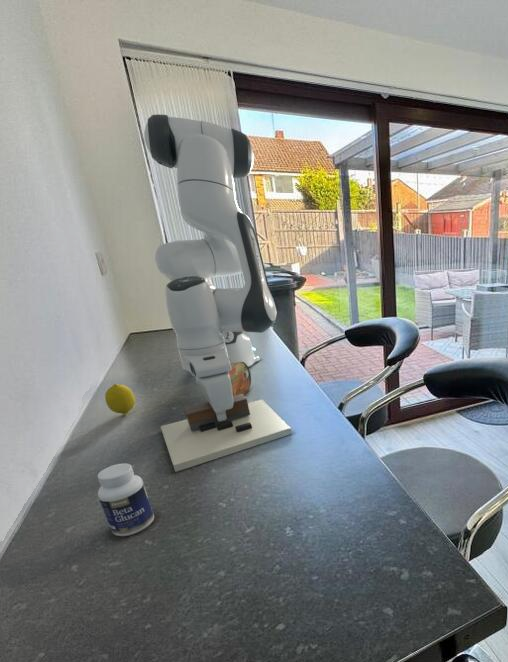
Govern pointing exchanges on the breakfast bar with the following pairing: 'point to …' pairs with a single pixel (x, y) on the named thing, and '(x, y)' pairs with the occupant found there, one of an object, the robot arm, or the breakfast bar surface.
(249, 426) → the stroke
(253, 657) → the breakfast bar surface
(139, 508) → the pill bottle
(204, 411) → the eraser
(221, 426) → the stroke
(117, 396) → the lemon
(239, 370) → the tin
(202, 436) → the memo board
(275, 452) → the breakfast bar surface
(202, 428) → the stroke
